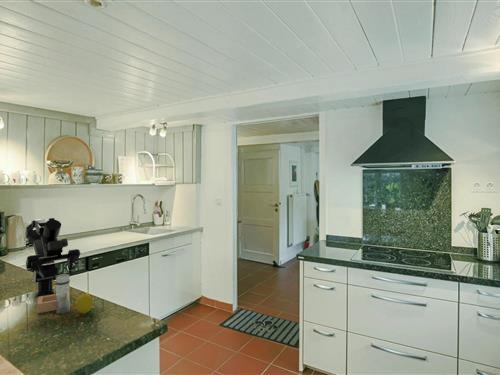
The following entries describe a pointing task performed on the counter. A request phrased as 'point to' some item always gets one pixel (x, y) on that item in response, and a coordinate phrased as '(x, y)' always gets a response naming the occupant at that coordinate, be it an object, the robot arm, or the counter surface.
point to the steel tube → (62, 294)
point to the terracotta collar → (46, 303)
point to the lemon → (84, 303)
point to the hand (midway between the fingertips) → (58, 275)
